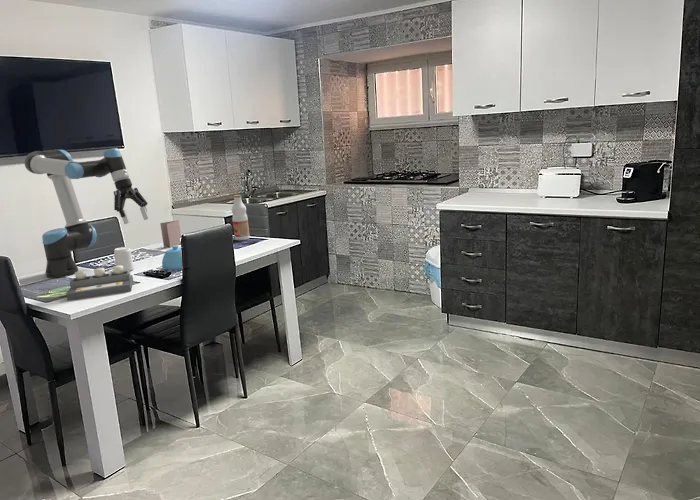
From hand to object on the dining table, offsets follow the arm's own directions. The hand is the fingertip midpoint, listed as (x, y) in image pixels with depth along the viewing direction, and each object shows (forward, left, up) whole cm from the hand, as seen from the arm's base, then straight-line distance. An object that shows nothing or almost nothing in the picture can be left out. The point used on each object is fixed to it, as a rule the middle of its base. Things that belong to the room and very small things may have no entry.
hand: (137, 221), depth 260 cm
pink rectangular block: (-64, +15, -27) cm, 71 cm away
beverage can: (-14, -10, -27) cm, 32 cm away
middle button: (+16, -18, -21) cm, 32 cm away
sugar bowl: (-5, +16, -27) cm, 32 cm away
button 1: (+16, -26, -21) cm, 37 cm away
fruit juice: (-57, +56, -27) cm, 85 cm away
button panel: (+19, -18, -27) cm, 38 cm away
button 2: (+16, -10, -21) cm, 28 cm away
